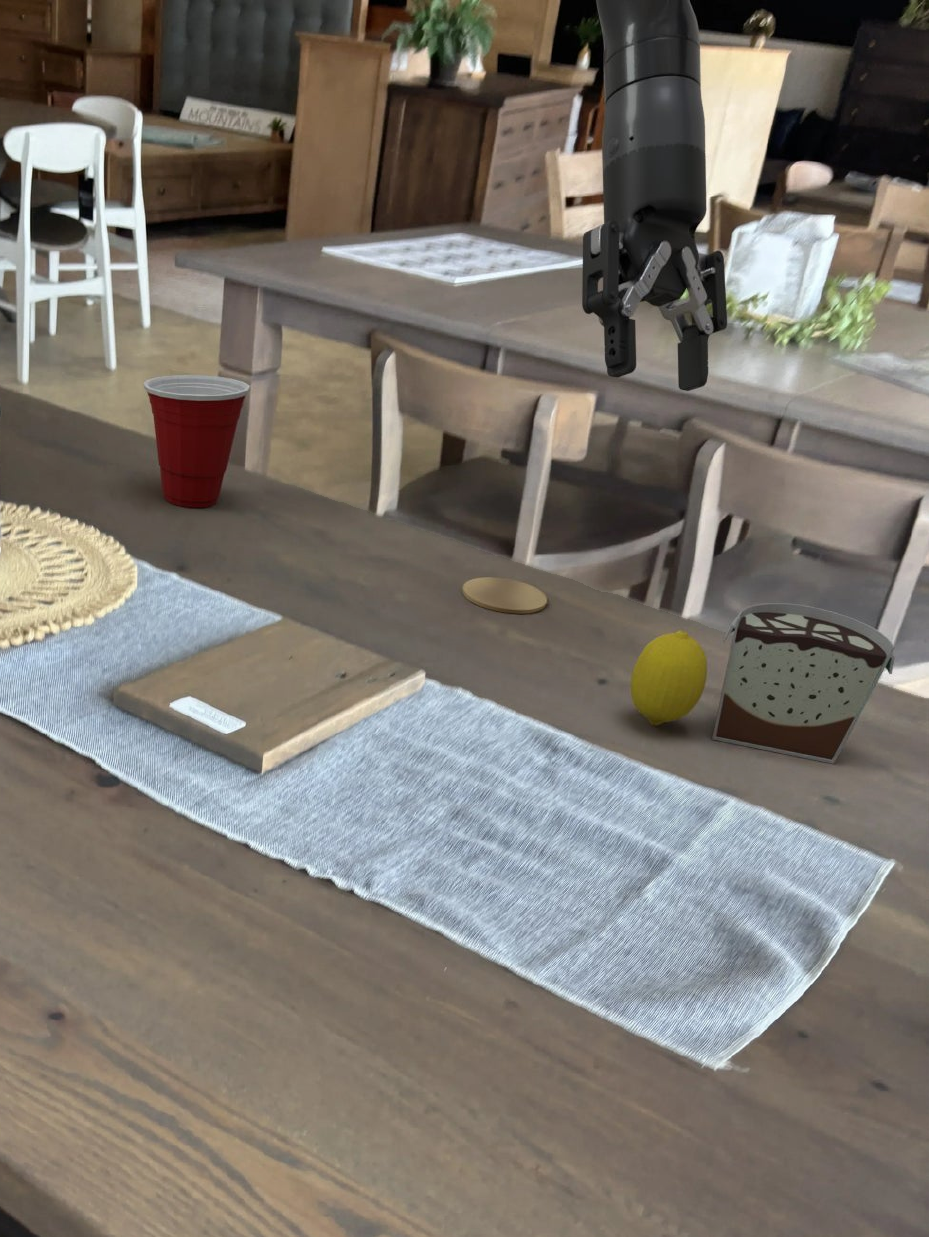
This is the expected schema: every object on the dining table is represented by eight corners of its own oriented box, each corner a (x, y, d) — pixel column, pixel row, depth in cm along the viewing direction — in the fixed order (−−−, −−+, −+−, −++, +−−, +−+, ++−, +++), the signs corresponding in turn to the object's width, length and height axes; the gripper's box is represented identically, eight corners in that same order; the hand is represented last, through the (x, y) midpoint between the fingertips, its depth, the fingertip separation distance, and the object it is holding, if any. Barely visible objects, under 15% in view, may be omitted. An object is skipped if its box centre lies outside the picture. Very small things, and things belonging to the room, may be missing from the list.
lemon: (614, 729, 106) (640, 634, 101) (626, 703, 110) (652, 611, 105) (684, 748, 104) (714, 652, 100) (694, 720, 108) (723, 628, 104)
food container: (846, 734, 109) (891, 619, 103) (853, 768, 104) (902, 648, 98) (692, 704, 111) (729, 589, 105) (693, 735, 106) (731, 616, 100)
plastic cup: (186, 476, 148) (194, 362, 141) (260, 503, 143) (272, 387, 136) (116, 493, 141) (121, 374, 134) (191, 523, 136) (200, 401, 129)
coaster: (529, 582, 131) (530, 578, 131) (558, 615, 125) (559, 610, 124) (451, 579, 130) (452, 576, 129) (476, 612, 123) (477, 608, 123)
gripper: (631, 119, 95) (637, 356, 97) (753, 162, 103) (756, 379, 105) (551, 162, 101) (558, 384, 103) (672, 199, 109) (676, 404, 111)
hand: (658, 381), depth 104 cm, fingers open, 8 cm apart
